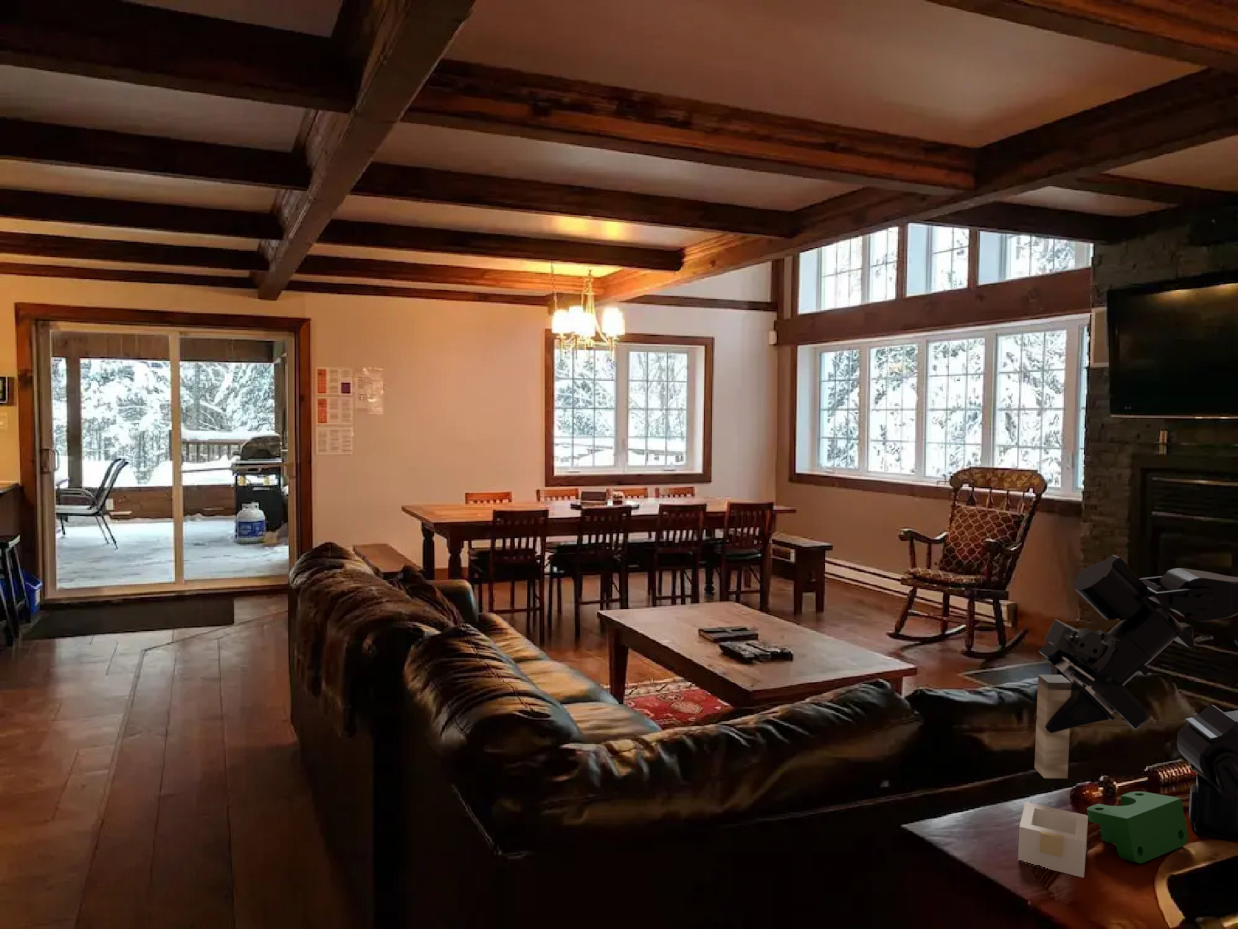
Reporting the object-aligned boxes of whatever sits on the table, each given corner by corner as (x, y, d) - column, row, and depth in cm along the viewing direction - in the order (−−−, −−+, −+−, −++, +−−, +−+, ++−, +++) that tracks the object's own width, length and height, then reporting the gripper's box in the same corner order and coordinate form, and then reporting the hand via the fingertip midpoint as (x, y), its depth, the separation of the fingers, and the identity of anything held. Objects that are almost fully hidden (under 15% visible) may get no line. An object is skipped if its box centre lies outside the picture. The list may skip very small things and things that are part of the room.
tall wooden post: (1057, 768, 118) (1061, 674, 116) (1067, 778, 115) (1071, 682, 113) (1034, 768, 118) (1038, 674, 116) (1044, 778, 115) (1048, 682, 113)
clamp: (1139, 864, 115) (1144, 793, 117) (1185, 876, 109) (1189, 801, 112) (1078, 847, 110) (1085, 774, 113) (1123, 859, 105) (1129, 781, 108)
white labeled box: (1086, 849, 110) (1088, 814, 110) (1083, 880, 103) (1085, 843, 103) (1023, 834, 114) (1025, 801, 113) (1017, 863, 107) (1018, 828, 106)
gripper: (1056, 585, 123) (974, 660, 124) (1126, 621, 104) (1029, 710, 106) (1110, 639, 123) (1028, 714, 125) (1190, 686, 105) (1092, 772, 106)
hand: (1042, 725), depth 115 cm, fingers closed on tall wooden post, 3 cm apart
